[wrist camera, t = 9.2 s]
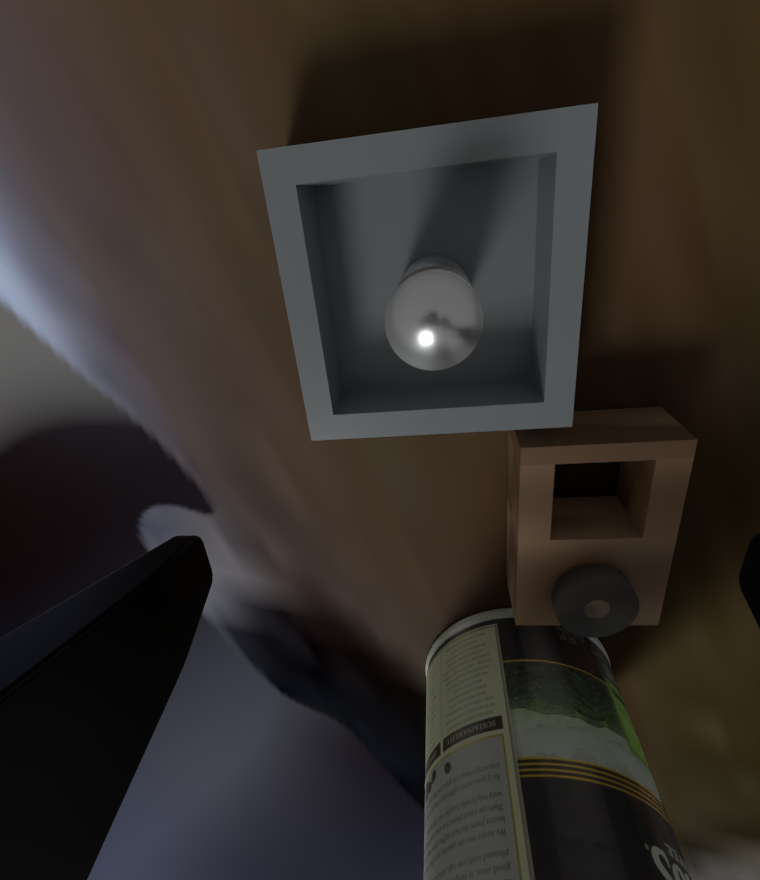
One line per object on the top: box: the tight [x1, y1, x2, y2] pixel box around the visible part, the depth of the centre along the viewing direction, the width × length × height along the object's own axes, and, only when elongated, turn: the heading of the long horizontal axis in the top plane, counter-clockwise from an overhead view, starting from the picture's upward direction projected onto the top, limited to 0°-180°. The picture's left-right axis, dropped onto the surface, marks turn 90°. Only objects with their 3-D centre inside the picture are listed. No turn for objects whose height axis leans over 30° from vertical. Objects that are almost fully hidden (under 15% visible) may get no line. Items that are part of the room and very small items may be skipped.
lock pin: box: [385, 254, 483, 371], centre depth 15 cm, size 2×2×6 cm
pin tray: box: [257, 103, 598, 441], centre depth 17 cm, size 10×10×3 cm
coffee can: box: [424, 607, 692, 880], centre depth 21 cm, size 10×10×14 cm
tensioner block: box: [506, 406, 698, 638], centre depth 20 cm, size 9×6×4 cm, turn 6°
